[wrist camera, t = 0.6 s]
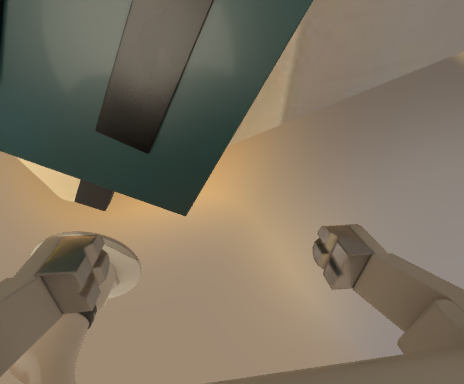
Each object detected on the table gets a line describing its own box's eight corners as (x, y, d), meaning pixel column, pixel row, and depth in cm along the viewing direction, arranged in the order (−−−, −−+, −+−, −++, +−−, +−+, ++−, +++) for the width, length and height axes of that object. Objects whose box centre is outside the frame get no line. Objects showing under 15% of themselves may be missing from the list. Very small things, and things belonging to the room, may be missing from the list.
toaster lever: (110, 201, 20) (104, 211, 19) (81, 192, 19) (73, 202, 18) (144, 113, 17) (139, 119, 15) (110, 97, 16) (102, 101, 14)
